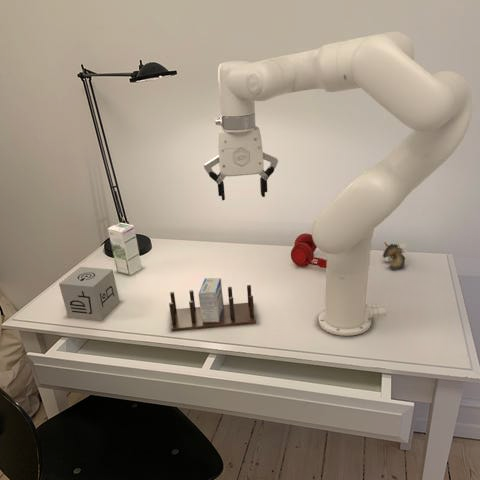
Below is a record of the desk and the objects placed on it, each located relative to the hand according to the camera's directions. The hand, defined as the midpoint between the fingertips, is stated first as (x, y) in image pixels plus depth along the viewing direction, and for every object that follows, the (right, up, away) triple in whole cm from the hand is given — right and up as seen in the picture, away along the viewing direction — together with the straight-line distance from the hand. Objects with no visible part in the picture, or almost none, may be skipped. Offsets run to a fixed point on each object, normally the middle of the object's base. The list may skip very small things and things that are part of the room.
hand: (243, 197), depth 124 cm
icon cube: (-40, -27, +15) cm, 51 cm away
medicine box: (-8, -29, +7) cm, 30 cm away
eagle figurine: (+44, -13, +28) cm, 54 cm away
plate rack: (-8, -29, +8) cm, 31 cm away
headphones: (+25, -12, +32) cm, 42 cm away
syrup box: (-35, -15, +35) cm, 52 cm away
